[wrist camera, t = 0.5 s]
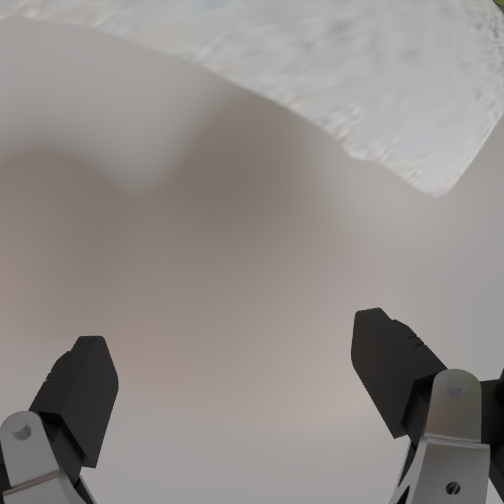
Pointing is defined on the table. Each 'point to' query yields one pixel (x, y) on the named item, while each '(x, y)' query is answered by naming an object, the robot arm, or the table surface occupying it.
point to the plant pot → (500, 2)
